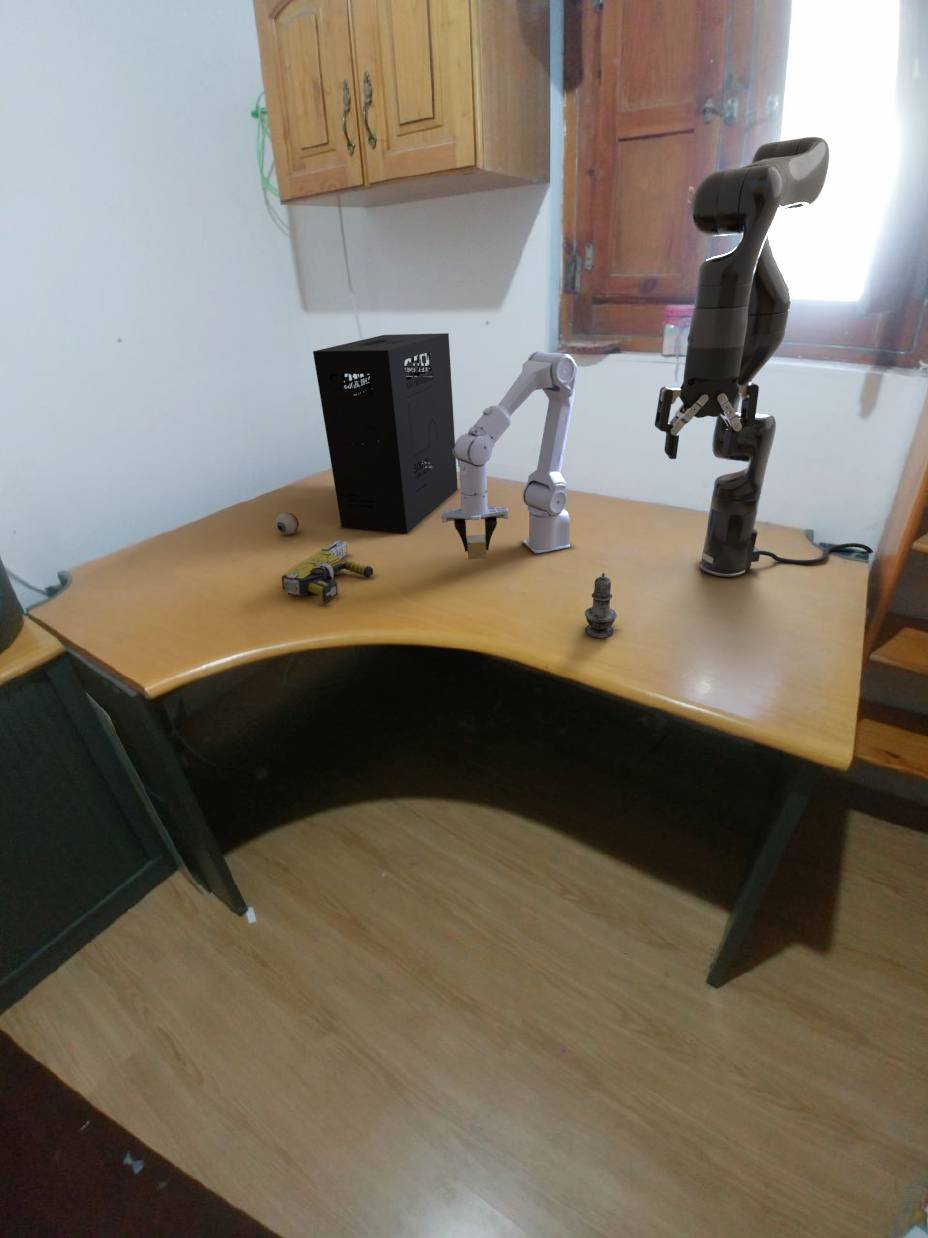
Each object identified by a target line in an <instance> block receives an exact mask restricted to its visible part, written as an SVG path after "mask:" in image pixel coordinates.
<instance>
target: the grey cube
mask: <svg viewBox="0 0 928 1238" xmlns="http://www.w3.org/2000/svg"><path fill="white" fill-rule="evenodd" d="M466 538H467V546H468V552H467V559H468V560H483V559H487V550H486V539H485V534H474V535H473V534H471V535H466Z"/></svg>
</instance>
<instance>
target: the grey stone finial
mask: <svg viewBox="0 0 928 1238" xmlns="http://www.w3.org/2000/svg"><path fill="white" fill-rule="evenodd" d="M611 587H612V580H611V579H610V578H609V577H607V576H606V573H605V572H603V573H601V576H598V577H596V578H595V580H594V587H593V593H591V598H592V606H590V607H589V608H587V609H585V611H584V613H583V614H584V617H585V621H586V622H587V625H586V626H585V628H584V629H585V630H584V631H585V633H586V634H587V635H589V636H590V637H593V638H598V639H600V638H602V639H603V638H608V637H610V636H612V635H613V634H614V632H615V630H614V628H613V627H612V625H613V624H614V623H615V620H616V619H617V616H618V614H617V612H616V611H615V610H614V609H613V608H612V607H611V604H610V603H611V599H613V595H612V594H611V589H612V588H611Z"/></svg>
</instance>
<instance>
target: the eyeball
mask: <svg viewBox="0 0 928 1238" xmlns="http://www.w3.org/2000/svg"><path fill="white" fill-rule="evenodd" d="M299 525H300V522H299V519H298V517H297V516H296V515H295V514H294V513H292V512H287V511H286V512H282V513H280V514H279V515H278V516H277V517H276V520H275V527H276V529H277V530H278V531H279V532H280V533H281V534H282V535H285V536H286V535H287V536H289V535H293V534H295V533H296V532H297V531H298V529H299Z"/></svg>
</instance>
